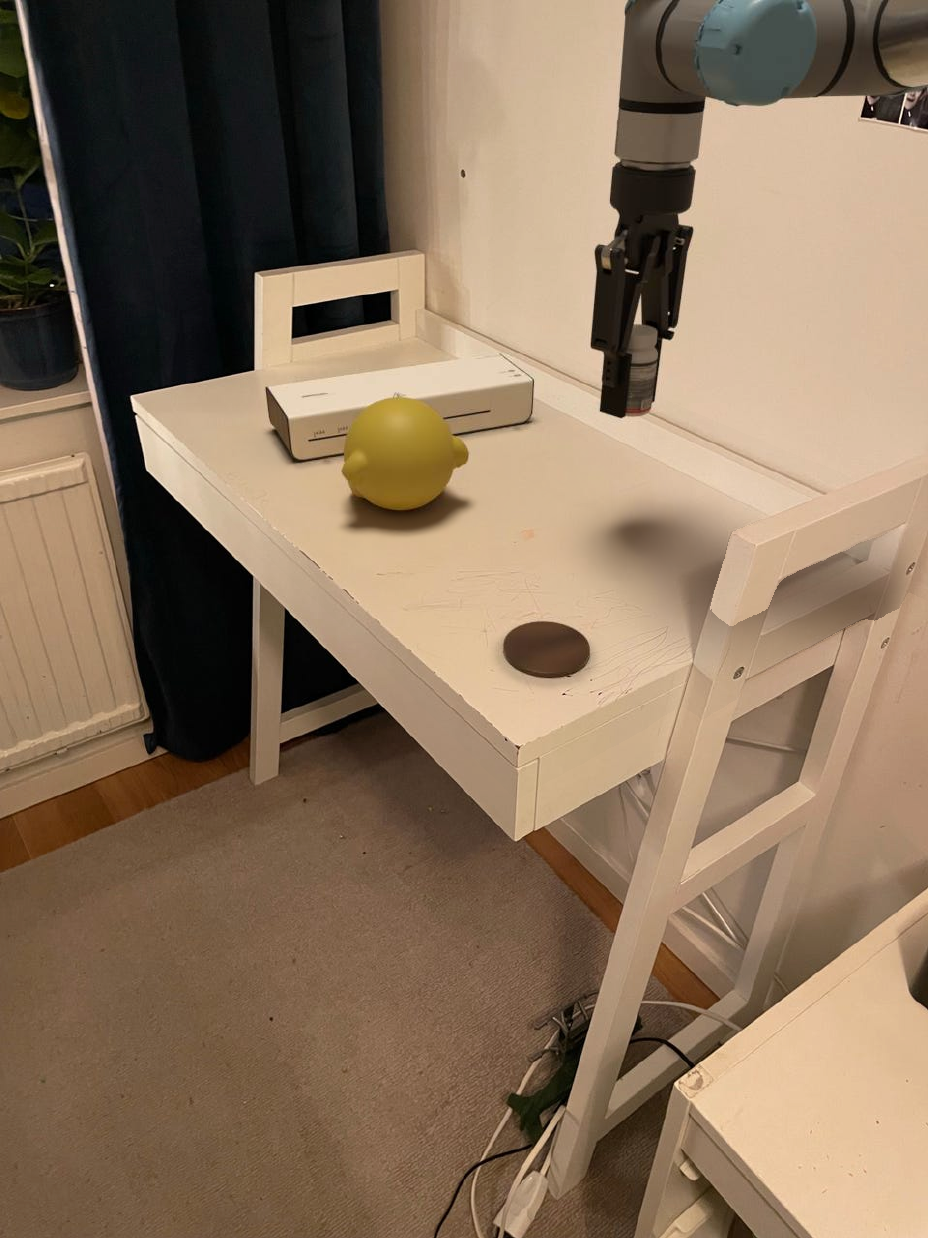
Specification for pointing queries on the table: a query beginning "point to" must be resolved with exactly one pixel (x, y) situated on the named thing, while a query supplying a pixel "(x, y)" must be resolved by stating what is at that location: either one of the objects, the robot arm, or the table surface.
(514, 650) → the coaster
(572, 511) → the table surface
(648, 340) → the pill bottle
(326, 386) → the laminator
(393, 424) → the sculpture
